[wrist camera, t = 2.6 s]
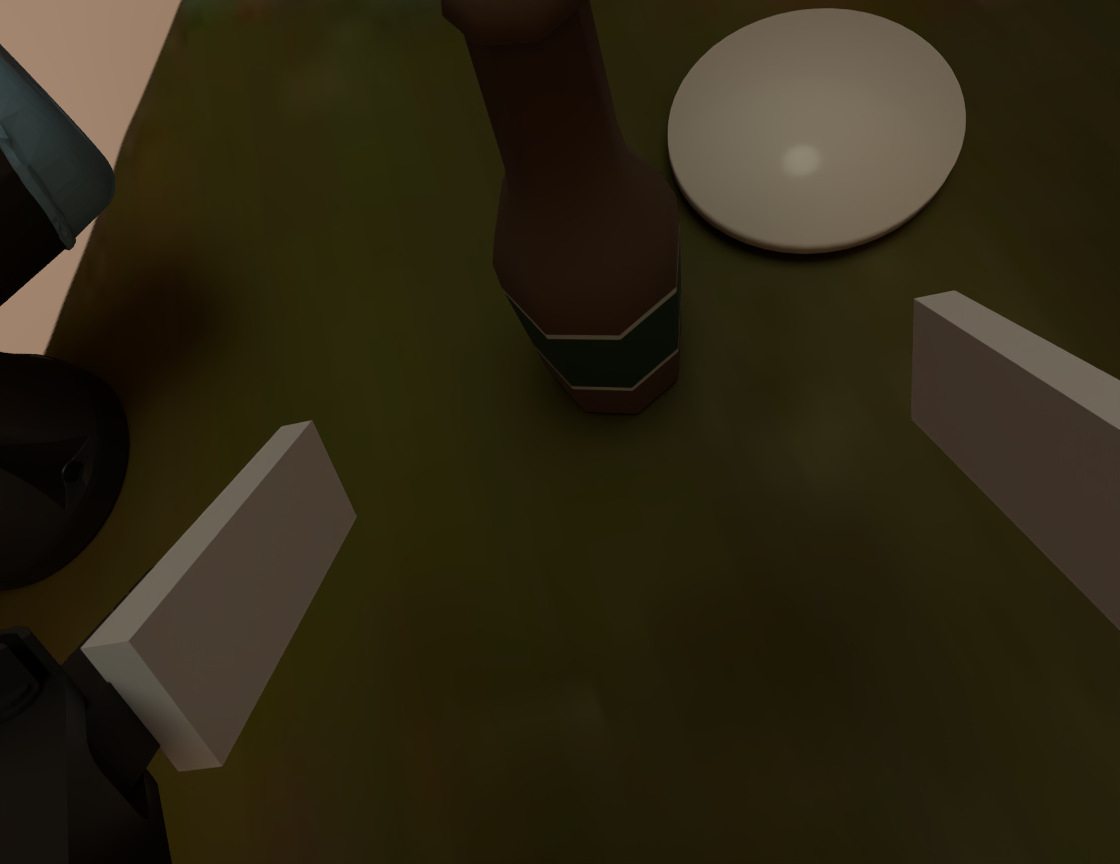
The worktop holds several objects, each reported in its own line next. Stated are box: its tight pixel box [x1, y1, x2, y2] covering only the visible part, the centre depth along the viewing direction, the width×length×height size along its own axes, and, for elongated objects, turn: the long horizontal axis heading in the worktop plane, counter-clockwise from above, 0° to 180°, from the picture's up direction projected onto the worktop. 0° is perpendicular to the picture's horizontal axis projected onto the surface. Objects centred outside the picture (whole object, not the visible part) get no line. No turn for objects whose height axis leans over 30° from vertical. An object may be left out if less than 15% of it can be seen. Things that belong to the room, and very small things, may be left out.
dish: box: [668, 8, 966, 254], centre depth 37 cm, size 16×16×2 cm
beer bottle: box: [441, 0, 681, 414], centre depth 25 cm, size 8×8×24 cm
